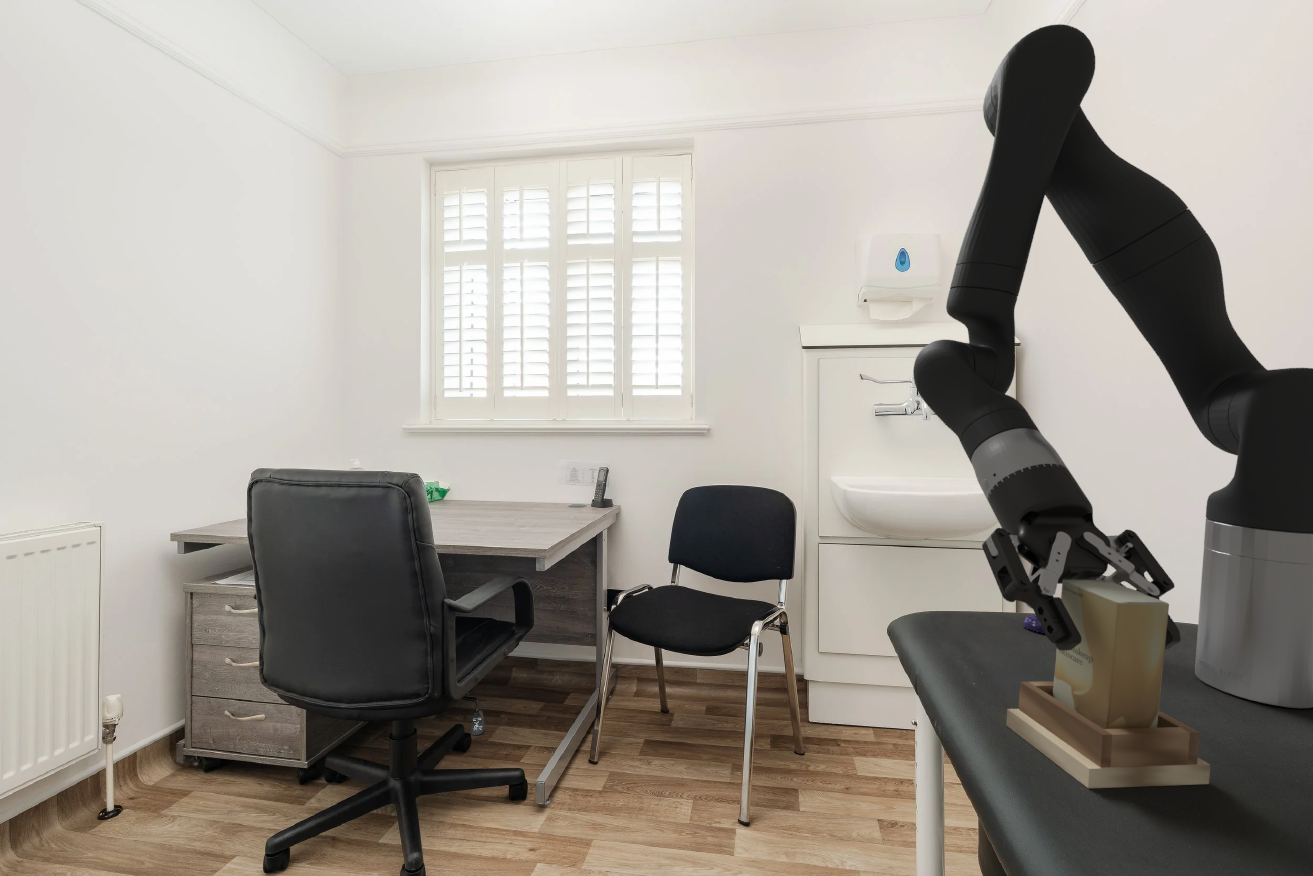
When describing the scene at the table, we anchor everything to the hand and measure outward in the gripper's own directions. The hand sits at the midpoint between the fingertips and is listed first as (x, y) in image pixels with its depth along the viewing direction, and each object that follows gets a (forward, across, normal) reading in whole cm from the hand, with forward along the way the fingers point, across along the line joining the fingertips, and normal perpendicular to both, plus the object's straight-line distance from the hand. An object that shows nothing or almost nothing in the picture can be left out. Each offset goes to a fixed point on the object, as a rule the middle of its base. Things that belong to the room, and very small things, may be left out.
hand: (1120, 646), depth 48 cm
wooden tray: (+6, 0, +8) cm, 10 cm away
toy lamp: (-14, +17, +27) cm, 35 cm away
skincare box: (+5, 0, +7) cm, 8 cm away
